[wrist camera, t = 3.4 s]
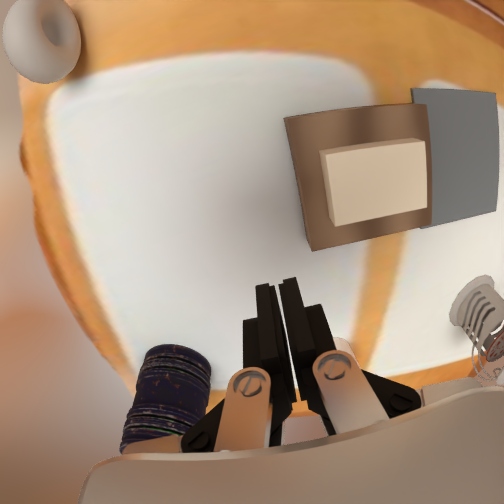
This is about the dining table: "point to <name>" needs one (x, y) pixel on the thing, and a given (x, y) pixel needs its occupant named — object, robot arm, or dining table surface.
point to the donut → (42, 39)
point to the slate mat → (462, 152)
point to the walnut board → (346, 134)
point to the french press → (481, 320)
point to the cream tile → (374, 179)
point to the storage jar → (168, 394)
